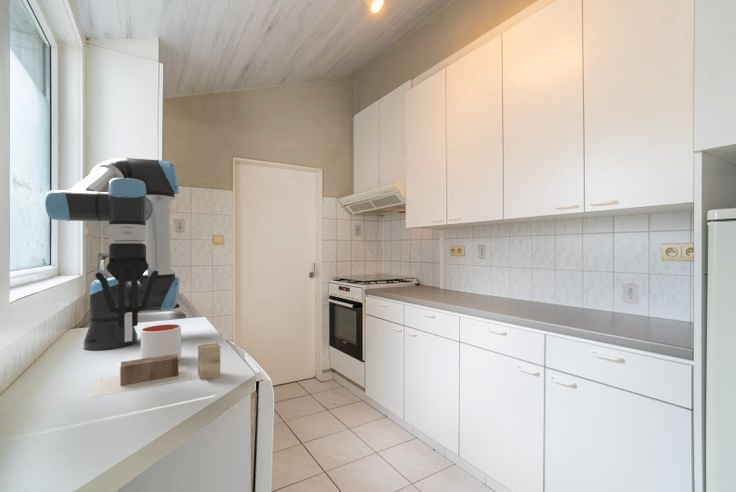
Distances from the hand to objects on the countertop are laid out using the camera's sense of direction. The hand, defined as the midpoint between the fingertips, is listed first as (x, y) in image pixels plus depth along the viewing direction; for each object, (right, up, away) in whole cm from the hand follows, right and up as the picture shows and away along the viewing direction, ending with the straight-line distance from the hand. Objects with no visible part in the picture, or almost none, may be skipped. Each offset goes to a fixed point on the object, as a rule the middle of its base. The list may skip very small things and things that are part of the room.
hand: (128, 340), depth 88 cm
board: (+3, -10, +2) cm, 11 cm away
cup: (-1, -11, +16) cm, 19 cm away
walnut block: (-1, -8, -1) cm, 8 cm away
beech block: (+18, -10, +4) cm, 21 cm away
